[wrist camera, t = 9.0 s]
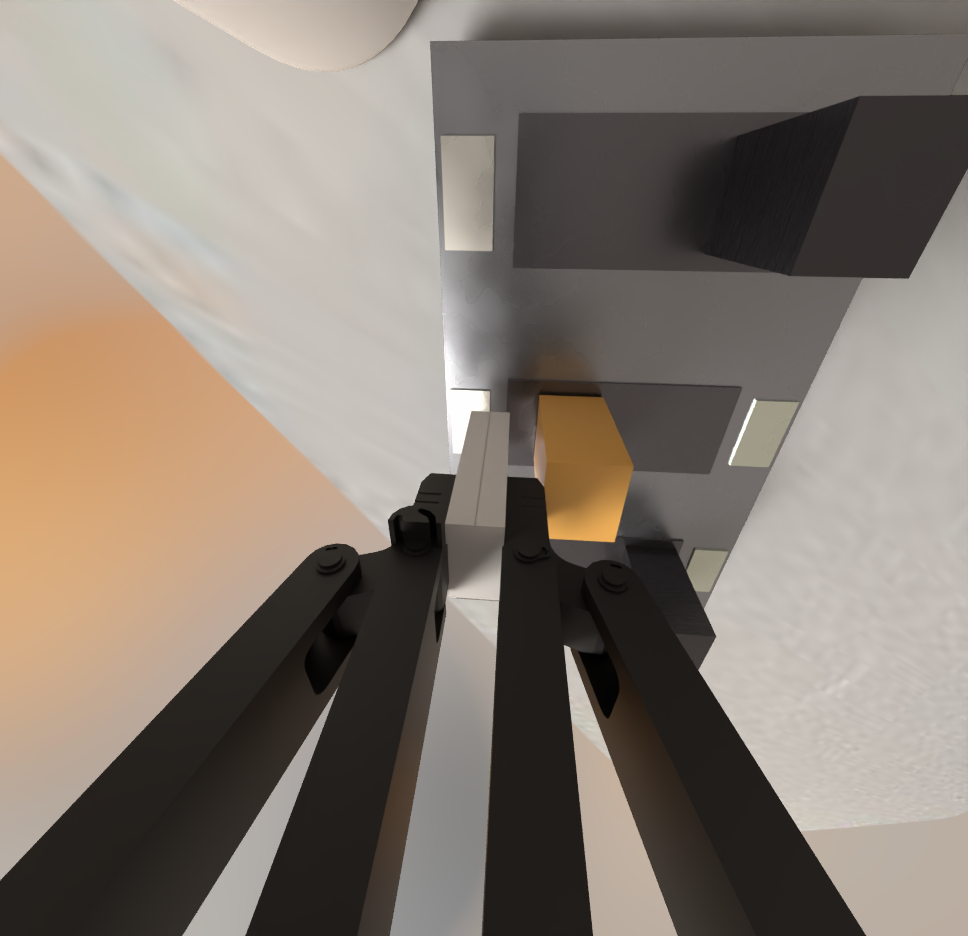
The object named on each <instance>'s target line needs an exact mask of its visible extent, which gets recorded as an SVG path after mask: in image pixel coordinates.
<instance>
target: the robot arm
mask: <svg viewBox="0 0 968 936" xmlns="http://www.w3.org/2000/svg"><path fill="white" fill-rule="evenodd" d="M509 421H510V413H509V412H487V411H471V414H470V418H469V422H468V427H467V431H466V435H465V440H464V444H463V448H462V452H461V457H460V461H459V465H458V470H457V474H456V475H453V474H435V473H431V474H430V475H429V476H428V477H426V478H425V479H424V480H423V481H422V482H421V485H420V488H419V491H418V494H417V496H416V499H415V503H414V505H413V506H407V507H404V508H401V509H399V510H398V511H396V512H395V513H393V514H392V515H391V517H390V518H389V519H388V524H389V531H390V538H391V547H389V548H387V549H385V550H382V551H378V552H374V553H368V554H363V555H358V553H357V552H356V550H355V549H354V548H353V547H351V546H348V545H347V544H332V545H326V546H324V547H322V548H319V549H317V550H315V551H314V552H313V553H312V554H310V555H309V556H308V557H307V558H306V559H305V560H304V561H303V562H302V563H301V564H300V565H299V566H298V567H297V568H296V569H295V571H294V572H293V573H292V574H291V575H290V576H289V577H288V578H287V579H286V580H285V581H284V582H283V583H282V584H281V585H280V586H279V587H278V589H276V591H275V592H274V593H273V594H272V595H271V596H270V597H269V598H268V599H267V600H266V601H265V602H264V603H263V604H262V606H260V607H259V608H258V610H257V611H256V612H255V613H254V614H253V615H252V616H251V617H250V618H249V619H248V620H247V621H246V622H245V623H244V624H243V625H242V627H240V628H239V630H238V631H237V632H236V633H235V634H234V635H233V636H232V637H231V638H230V639H229V640H228V641H227V642H226V643H225V644H224V645H223V646H222V647H221V649H220V650H219V651H218V652H217V653H216V654H215V655H214V656H213V657H212V658H211V659H210V660H209V661H208V662H207V663H206V664H205V665H204V666H203V667H202V669H201V670H200V671H199V672H198V673H197V674H196V675H195V676H194V677H193V678H192V679H191V680H190V681H189V682H188V683H187V685H185V687H183V689H182V690H181V691H180V692H179V693H178V694H177V695H176V696H175V697H174V698H173V699H172V700H171V701H170V702H169V703H168V704H167V705H166V706H165V708H164V709H163V710H162V711H161V712H160V713H159V714H158V715H157V716H156V717H155V718H154V719H153V720H152V721H151V722H150V723H149V724H148V725H147V726H146V728H145V729H144V730H143V731H142V732H141V733H140V734H139V735H138V736H137V737H136V738H135V739H134V740H133V741H132V742H131V743H130V745H128V747H127V748H126V749H125V750H124V751H123V752H122V753H121V754H120V755H119V756H118V757H117V758H116V759H115V760H114V761H113V762H112V763H111V764H110V766H109V767H108V768H107V769H106V770H105V771H104V772H103V773H102V774H101V775H100V776H99V777H98V778H97V779H96V780H95V781H94V782H93V783H92V785H90V787H89V788H88V789H87V790H86V791H85V792H84V793H83V794H82V795H81V796H80V797H79V798H78V799H77V800H76V802H74V803H73V804H72V805H71V807H70V808H69V809H68V810H67V811H66V812H65V813H64V814H63V815H62V816H61V817H60V818H59V819H58V820H57V821H56V822H55V824H53V826H52V827H51V828H50V829H49V830H48V831H47V832H46V833H45V834H44V835H43V836H42V837H41V838H40V839H39V840H38V841H37V843H35V844H34V846H33V847H32V848H31V849H30V850H29V851H28V852H27V853H26V854H25V855H24V856H23V857H22V858H21V859H20V860H19V861H18V863H16V865H15V866H14V867H13V868H12V869H11V870H10V871H9V872H8V873H7V874H6V875H5V876H4V877H3V878H2V879H1V881H0V936H182V935H183V933H184V932H185V930H186V929H187V927H188V926H189V924H190V922H191V921H192V919H193V918H194V916H195V914H196V913H197V911H198V910H199V908H200V906H201V905H202V903H203V902H204V900H205V898H206V897H207V895H208V894H209V892H210V890H211V889H212V887H213V885H214V884H215V882H216V881H217V879H218V878H219V876H220V874H221V873H222V871H223V870H224V868H225V866H226V865H227V863H228V862H229V860H230V858H231V857H232V855H233V854H234V852H235V850H236V849H237V847H238V846H239V844H240V843H241V841H242V839H243V838H244V836H245V835H246V833H247V831H248V830H249V828H250V827H251V825H252V823H253V822H254V820H255V819H256V817H257V815H258V814H259V812H260V810H261V809H262V807H263V806H264V804H265V803H266V801H267V799H268V798H269V796H270V795H271V793H272V791H273V790H274V788H275V787H276V785H277V783H278V782H279V780H280V779H281V777H282V775H283V774H284V772H285V771H286V769H287V767H288V766H289V764H290V763H291V761H292V759H293V758H294V756H295V755H296V753H297V751H298V750H299V748H300V747H301V745H302V744H303V742H304V740H305V739H306V737H307V736H308V734H309V732H310V731H311V729H312V727H313V726H314V724H315V723H316V721H317V720H318V718H319V716H320V715H321V713H322V711H323V710H324V708H325V707H326V705H327V704H328V702H329V700H330V699H331V697H332V696H333V694H334V692H335V691H336V689H337V688H338V689H337V692H336V695H335V698H334V701H333V703H332V706H331V708H330V711H329V714H328V716H327V719H326V722H325V725H324V727H323V730H322V732H321V735H320V738H319V740H318V743H317V746H316V748H315V751H314V754H313V756H312V759H311V762H310V765H309V767H308V770H307V773H306V775H305V778H304V781H303V783H302V786H301V789H300V792H299V794H298V797H297V799H296V802H295V805H294V807H293V810H292V813H291V816H290V818H289V821H288V823H287V826H286V829H285V831H284V834H283V837H282V840H281V842H280V845H279V848H278V850H277V853H276V855H275V858H274V861H273V864H272V866H271V869H270V871H269V874H268V877H267V880H266V882H265V885H264V888H263V890H262V893H261V896H260V898H259V901H258V904H257V906H256V909H255V912H254V914H253V917H252V920H251V922H250V925H249V928H248V930H247V933H246V935H245V936H390V930H391V924H392V919H393V912H394V907H395V901H396V896H397V890H398V885H399V879H400V873H401V868H402V862H403V856H404V850H405V845H406V839H407V833H408V827H409V822H410V816H411V811H412V805H413V799H414V794H415V788H416V782H417V777H418V771H419V765H420V760H421V754H422V748H423V742H424V737H425V731H426V725H427V719H428V714H429V708H430V703H431V696H432V691H433V686H434V680H435V674H436V668H437V663H438V657H439V651H440V646H441V640H442V634H443V629H444V623H445V617H446V604H445V602H446V596H447V591H448V597H456V598H470V599H484V600H498V601H499V614H498V631H497V653H496V671H495V690H494V710H493V729H492V748H491V767H490V787H489V806H488V825H487V844H486V863H485V884H484V902H483V921H482V936H593V932H592V921H591V911H590V902H589V891H588V881H587V871H586V862H585V852H584V842H583V832H582V823H581V812H580V802H579V792H578V783H577V773H576V762H575V752H574V743H573V733H572V723H571V713H570V703H569V693H568V683H567V673H566V663H565V653H564V645H566V646H568V647H570V648H571V652H572V655H573V658H574V660H575V663H576V666H577V668H578V671H579V674H580V676H581V679H582V682H583V684H584V687H585V690H586V692H587V695H588V698H589V700H590V703H591V706H592V708H593V711H594V714H595V716H596V719H597V722H598V724H599V727H600V730H601V732H602V735H603V738H604V740H605V743H606V746H607V748H608V751H609V754H610V756H611V759H612V762H613V764H614V767H615V770H616V772H617V775H618V778H619V780H620V783H621V786H622V788H623V791H624V793H625V796H626V799H627V801H628V804H629V807H630V810H631V812H632V815H633V818H634V820H635V823H636V826H637V828H638V831H639V833H640V836H641V839H642V841H643V844H644V847H645V850H646V852H647V855H648V858H649V860H650V863H651V865H652V868H653V871H654V874H655V876H656V879H657V882H658V884H659V887H660V890H661V892H662V895H663V897H664V900H665V903H666V906H667V908H668V911H669V914H670V916H671V919H672V921H673V924H674V927H675V929H676V932H677V935H678V936H866V935H865V933H864V932H863V930H862V928H861V927H860V925H859V924H858V922H857V921H856V919H855V917H854V916H853V914H852V913H851V911H850V909H849V908H848V906H847V905H846V903H845V902H844V900H843V899H842V897H841V895H840V894H839V892H838V891H837V889H836V887H835V886H834V885H833V883H832V881H831V879H830V878H829V876H828V875H827V873H826V872H825V870H824V868H823V867H822V865H821V864H820V862H819V861H818V859H817V857H816V856H815V854H814V853H813V851H812V849H811V848H810V846H809V845H808V843H807V842H806V840H805V838H804V837H803V835H802V834H801V832H800V830H799V829H798V827H797V826H796V824H795V823H794V821H793V819H792V818H791V816H790V815H789V813H788V811H787V810H786V808H785V807H784V805H783V804H782V802H781V800H780V799H779V797H778V796H777V794H776V793H775V791H774V789H773V788H772V786H771V785H770V783H769V781H768V780H767V778H766V777H765V775H764V774H763V772H762V770H761V769H760V767H759V766H758V764H757V762H756V761H755V759H754V758H753V756H752V755H751V753H750V751H749V750H748V748H747V747H746V745H745V744H744V742H743V740H742V739H741V737H740V736H739V734H738V732H737V731H736V729H735V728H734V726H733V725H732V723H731V721H730V720H729V718H728V717H727V715H726V714H725V712H724V710H723V709H722V707H721V706H720V704H719V702H718V701H717V699H716V698H715V696H714V695H713V693H712V691H711V690H710V688H709V687H708V685H707V683H706V682H705V680H704V679H703V677H702V676H701V674H700V672H699V671H698V669H697V668H696V666H695V665H694V663H693V661H692V660H691V658H690V657H689V655H688V653H687V652H686V650H685V649H684V647H683V646H682V644H681V642H680V641H679V639H678V638H677V636H676V634H675V633H674V631H673V630H672V628H671V627H670V625H669V623H668V622H667V620H666V619H665V617H664V616H663V614H662V612H661V611H660V609H659V608H658V606H657V604H656V603H655V601H654V600H653V598H652V597H651V595H650V593H649V592H648V590H647V589H646V587H645V585H644V584H643V582H642V581H641V579H640V578H639V576H638V575H637V574H636V573H635V572H634V571H633V570H632V569H631V568H629V567H628V566H626V565H624V564H623V563H620V562H616V561H613V560H599V561H596V562H593V563H592V564H590V565H589V566H588V567H587V568H584V567H581V566H578V565H575V564H572V563H570V562H567V561H565V560H564V559H562V558H561V557H559V556H558V555H557V554H556V553H555V552H554V550H553V549H552V547H551V545H550V541H549V530H548V520H547V509H546V500H545V499H546V498H545V488H544V486H543V485H542V484H541V482H540V481H539V480H538V478H526V477H508V476H507V468H508V445H509ZM338 686H339V687H338Z"/></svg>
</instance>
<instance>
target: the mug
mask: <svg viewBox="0 0 968 936" xmlns="http://www.w3.org/2000/svg"><path fill="white" fill-rule="evenodd" d="M173 1H175V2H176V3H178V4H180V5H181V6H183V7H185V8H186V9H188V10H190V11H191V12H193V13H195V14H196V15H198V16H200V17H201V18H203V19H205V20H206V21H208V22H210V23H212V24H213V25H215V26H217V27H218V28H220V29H222V30H223V31H225V32H227V33H228V34H230V35H232V36H233V37H235V38H237V39H238V40H240V41H242V42H243V43H245V44H247V45H248V46H250V47H252V48H254V49H255V50H257V51H259V52H261V53H263V54H265V55H267V56H269V57H271V58H273V59H275V60H277V61H280V62H282V63H284V64H287V65H290V66H293V67H297V68H300V69H305V70H312V71H319V72H332V71H341V70H345V69H349V68H353V67H355V66H357V65H360V64H362V63H364V62H366V61H368V60H369V59H371V58H372V57H374V56H375V55H377V54H378V53H380V52H381V51H382V50H383V49H384V48H385V47H386V46H387V45H388V44H389V43H390V42H391V41H393V40H394V38H395V37H396V36H397V34H398V33H399V32H400V30H401V29H402V28H403V26H404V25H405V24H406V22H407V20H408V18H409V17H410V15H411V13H412V12H413V10H414V8H415V6H416V4H417V2H418V0H173Z"/></svg>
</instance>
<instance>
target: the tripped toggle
mask: <svg viewBox="0 0 968 936" xmlns="http://www.w3.org/2000/svg"><path fill="white" fill-rule="evenodd" d="M633 467H634V465H633V463H632V461H631V459H630V456H629V454H628V452H627V450H626V447H625V445H624V443H623V440H622V438H621V436H620V434H619V431H618V429H617V427H616V425H615V422H614V420H613V418H612V416H611V413H610V411H609V409H608V407H607V404H606V402H605V400H604V398H603V397H580V396H553V395H540V396H539V407H538V418H537V429H536V440H535V451H534V471H535V478H538V480H539V481H540V482H541V484H542V485H543V486H544V488H545V498H546V499H545V500H546V509H547V520H548V530H549V539H564V540H582V541H600V542H615V538H616V534H617V530H618V527H619V523H620V519H621V515H622V511H623V507H624V503H625V499H626V495H627V491H628V487H629V483H630V479H631V475H632V471H633Z"/></svg>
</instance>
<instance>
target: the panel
mask: <svg viewBox="0 0 968 936" xmlns="http://www.w3.org/2000/svg"><path fill="white" fill-rule="evenodd" d="M430 50H431V72H432V94H433V115H434V137H435V159H436V180H437V202H438V224H439V245H440V267H441V289H442V310H443V332H444V353H445V375H446V397H447V418H448V440H449V462H450V474H453V475H456V474H457V470H458V465H459V461H460V457H461V452H462V448H463V444H464V440H465V435H466V431H467V427H468V422H469V418H470V414H471V411H487V412H509V413H510V421H509V445H508V468H507V476H508V477H526V478H535V471H534V451H535V440H536V429H537V418H538V407H539V396H540V395H553V396H580V397H603V398H604V400H605V402H606V404H607V407H608V409H609V411H610V413H611V416H612V418H613V420H614V422H615V425H616V427H617V429H618V431H619V434H620V436H621V438H622V440H623V443H624V445H625V447H626V450H627V452H628V454H629V456H630V459H631V461H632V463H633V465H634V467H633V471H632V475H631V479H630V483H629V487H628V491H627V495H626V499H625V503H624V507H623V511H622V515H621V519H620V523H619V527H618V530H617V534H616V538H615V542H600V541H582V540H564V539H549V541H550V545H551V547H552V549H553V550H554V552H555V553H556V554H557V555H558V556H559V557H561V558H562V559H564V560H565V561H567V562H570V563H572V564H575V565H578V566H581V567H584V568H587V567H588V566H589V565H590V564H592V563H593V562H596V561H599V560H613V561H616V562H620V563H623V564H624V565H626V566H628V567H629V568H631V569H632V570H633V571H634V572H635V573H636V574H637V575H638V576H639V578H640V579H641V581H642V582H643V584H644V585H645V587H646V589H647V590H648V592H649V593H650V595H651V597H652V598H653V600H654V601H655V603H656V604H657V606H658V608H659V609H660V611H661V612H662V614H663V616H664V617H665V619H666V620H667V622H668V623H669V625H670V627H671V628H672V630H673V631H674V633H675V634H676V636H677V638H678V639H679V641H680V642H681V644H682V646H683V647H684V649H685V650H686V652H687V653H688V655H689V657H690V658H691V660H692V661H693V663H694V665H695V666H696V668H697V669H698V670H699V668H700V666H701V664H702V662H703V660H704V658H705V657H706V655H707V653H708V651H709V649H710V647H711V645H712V644H713V642H714V640H715V638H716V635H715V633H714V631H713V628H712V626H711V624H710V622H709V620H708V618H707V615H706V613H705V611H704V607H705V605H706V603H707V601H708V599H709V597H710V595H711V593H712V591H713V589H714V587H715V585H716V582H717V580H718V578H719V576H720V574H721V572H722V570H723V568H724V566H725V564H726V562H727V559H728V557H729V555H730V553H731V551H732V549H733V547H734V545H735V543H736V541H737V539H738V537H739V534H740V532H741V530H742V528H743V526H744V524H745V522H746V520H747V518H748V516H749V514H750V511H751V509H752V507H753V505H754V503H755V501H756V499H757V497H758V495H759V493H760V491H761V488H762V486H763V484H764V482H765V480H766V478H767V476H768V474H769V472H770V470H771V468H772V466H773V463H774V461H775V459H776V457H777V455H778V453H779V451H780V449H781V447H782V445H783V443H784V440H785V438H786V436H787V434H788V432H789V430H790V428H791V426H792V424H793V422H794V420H795V418H796V415H797V413H798V411H799V409H800V407H801V405H802V403H803V401H804V399H805V397H806V395H807V392H808V390H809V388H810V386H811V384H812V382H813V380H814V378H815V376H816V374H817V372H818V369H819V367H820V365H821V363H822V361H823V359H824V357H825V355H826V353H827V351H828V349H829V347H830V344H831V342H832V340H833V338H834V336H835V334H836V332H837V330H838V328H839V326H840V324H841V321H842V319H843V317H844V315H845V313H846V311H847V309H848V307H849V305H850V303H851V301H852V299H853V296H854V294H855V292H856V290H857V288H858V286H859V284H860V282H861V280H862V278H909V277H910V275H911V273H912V271H913V269H914V267H915V265H916V264H917V262H918V260H919V258H920V256H921V254H922V252H923V251H924V249H925V247H926V245H927V243H928V241H929V239H930V238H931V236H932V234H933V232H934V230H935V228H936V226H937V225H938V223H939V221H940V219H941V217H942V215H943V213H944V211H945V210H946V208H947V206H948V204H949V202H950V200H951V198H952V197H953V195H954V193H955V191H956V189H957V187H958V185H959V184H960V182H961V180H962V178H963V176H964V174H965V172H966V170H967V169H968V95H950V94H951V92H952V90H953V88H954V86H955V83H956V81H957V79H958V77H959V75H960V73H961V71H962V69H963V67H964V65H965V63H966V61H967V58H968V34H924V35H852V36H780V37H708V38H636V39H563V40H491V41H430ZM459 599H470V598H459ZM474 600H484V599H474ZM490 601H498V600H490Z"/></svg>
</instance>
